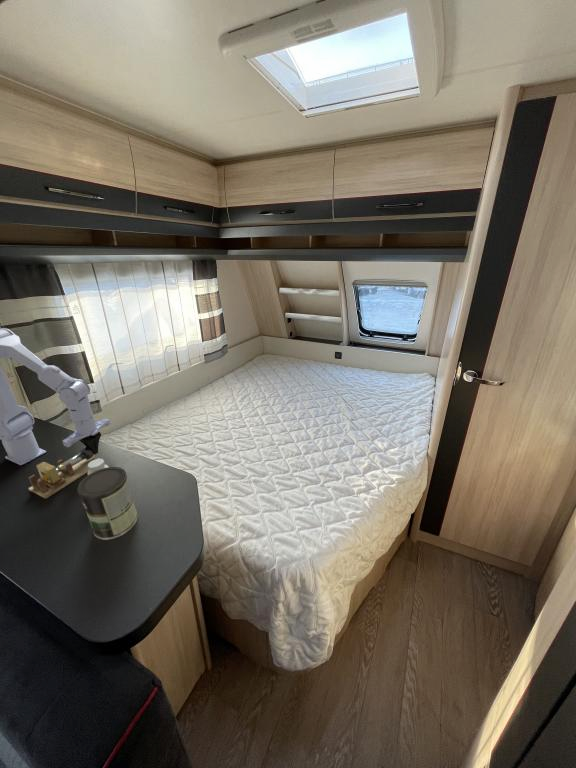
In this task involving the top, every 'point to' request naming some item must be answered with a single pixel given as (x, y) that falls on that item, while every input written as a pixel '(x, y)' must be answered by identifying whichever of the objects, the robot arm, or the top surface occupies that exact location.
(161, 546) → the top surface
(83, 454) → the shaft
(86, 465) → the bearing bed
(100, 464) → the supplement bottle
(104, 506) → the coffee can
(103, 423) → the robot arm
